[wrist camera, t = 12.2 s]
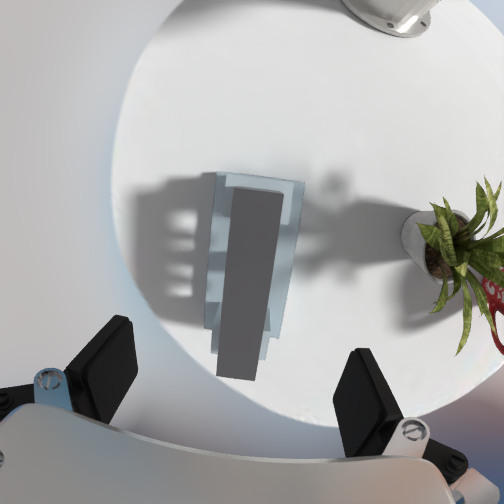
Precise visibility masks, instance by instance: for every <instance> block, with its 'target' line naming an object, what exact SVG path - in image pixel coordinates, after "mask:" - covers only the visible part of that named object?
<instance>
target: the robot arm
mask: <svg viewBox="0 0 504 504" xmlns="http://www.w3.org/2000/svg"><path fill="white" fill-rule="evenodd" d="M342 1H343V3H344V4H345V5H346V6H347V7H348V8H349V9H350V10H351V11H352V12H353V13H354V14H355V15H356V16H358V17H359V18H360V19H362V20H363V21H365V22H366V23H368V24H369V25H371V26H373V27H375V28H377V29H379V30H381V31H383V32H386V33H388V34H391V35H395V36H399V37H407V38H409V37H416V36H419V35H421V34H422V33H424V32H425V31H426V30H427V29H428V28H429V26H430V23H431V16H430V11H429V10H430V9H431V8H433V7H434V6H435V5H436V4H437V3H438V2H439V1H441V0H342ZM137 373H138V365H137V358H136V350H135V343H134V333H133V324H132V322H131V321H129V318H128V317H125V316H120V315H115V316H113V317H112V319H111V320H110V321H109V322H108V323H107V324H106V325H105V326H104V327H103V328H102V329H101V330H100V331H99V332H98V333H97V334H96V335H95V336H94V337H93V339H92V340H91V341H90V342H89V343H88V344H87V345H86V346H85V347H84V348H83V349H82V350H81V351H80V353H79V354H78V355H77V356H76V357H75V358H74V359H73V360H72V361H71V363H70V364H69V365H68V366H67V367H66V369H65V370H64V371H63V372H62V371H61V370H59V369H56V368H46V369H43V370H41V371H40V372H38V373H37V374H36V376H35V377H34V383H33V384H27V385H21V386H15V387H8V388H1V389H0V504H497V503H498V501H499V498H500V492H499V489H498V488H497V487H496V486H495V485H494V484H493V483H491V482H490V481H489V480H487V479H486V478H485V477H484V476H482V475H481V474H480V473H478V472H477V471H476V470H475V469H473V468H471V469H470V470H469V469H468V460H467V458H466V457H465V455H464V454H463V453H461V452H459V451H457V450H455V449H452V448H450V447H448V446H445V445H443V444H441V443H439V442H437V441H435V440H432V439H430V438H429V437H430V430H429V427H428V426H427V424H426V423H425V422H424V421H422V420H420V419H418V418H415V417H408V418H404V417H403V415H402V413H401V410H400V408H399V406H398V404H397V402H396V400H395V398H394V396H393V394H392V392H391V390H390V387H389V385H388V383H387V381H386V380H385V378H384V376H383V374H382V372H381V370H380V368H379V366H378V364H377V362H376V360H375V358H374V356H373V354H372V352H371V351H370V349H369V348H356V349H355V350H354V351H351V353H350V355H349V358H348V360H347V363H346V366H345V368H344V371H343V373H342V376H341V378H340V381H339V383H338V386H337V388H336V391H335V393H334V396H333V404H334V408H335V413H336V417H337V421H338V425H339V429H340V434H341V438H342V442H343V447H344V452H345V456H346V458H334V459H276V458H275V459H274V458H260V457H248V456H239V455H231V454H223V453H217V452H211V451H205V450H199V449H194V448H189V447H185V446H180V445H175V444H171V443H167V442H163V441H159V440H155V439H152V438H148V437H145V436H141V435H138V434H135V433H132V432H128V431H125V430H122V429H119V428H116V427H113V426H110V425H109V423H110V421H111V419H112V418H113V416H114V414H115V412H116V410H117V409H118V407H119V405H120V403H121V402H122V400H123V398H124V396H125V395H126V393H127V391H128V390H129V388H130V386H131V384H132V383H133V381H134V379H135V378H136V376H137Z"/></svg>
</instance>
